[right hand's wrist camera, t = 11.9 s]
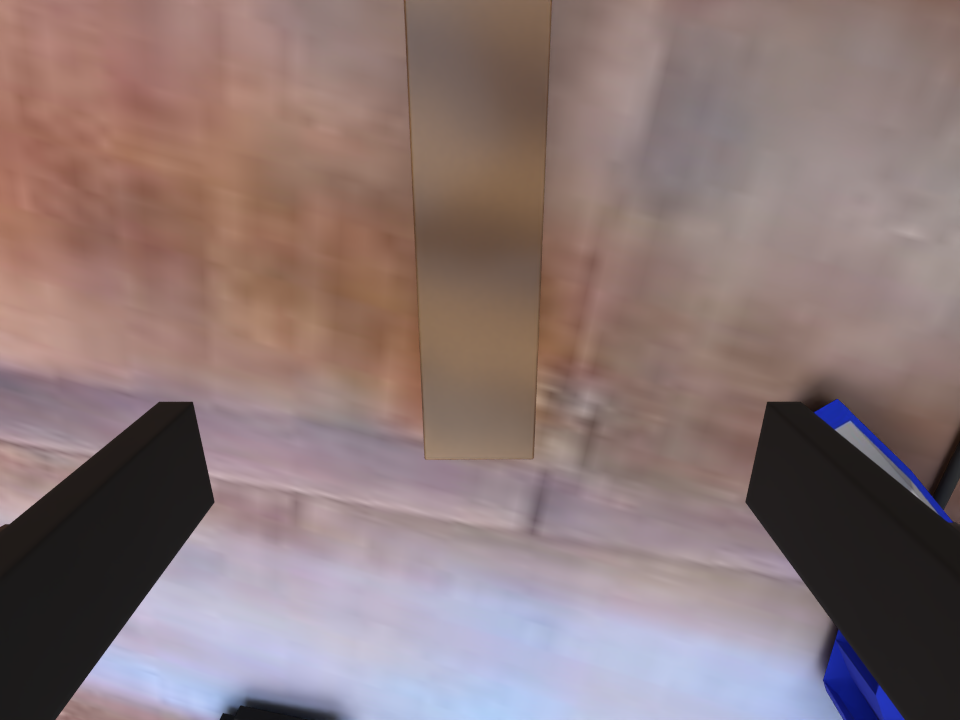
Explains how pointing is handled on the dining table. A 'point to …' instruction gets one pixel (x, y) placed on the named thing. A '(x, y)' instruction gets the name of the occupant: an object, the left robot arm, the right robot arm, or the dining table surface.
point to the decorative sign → (256, 715)
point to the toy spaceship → (846, 675)
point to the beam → (478, 218)
